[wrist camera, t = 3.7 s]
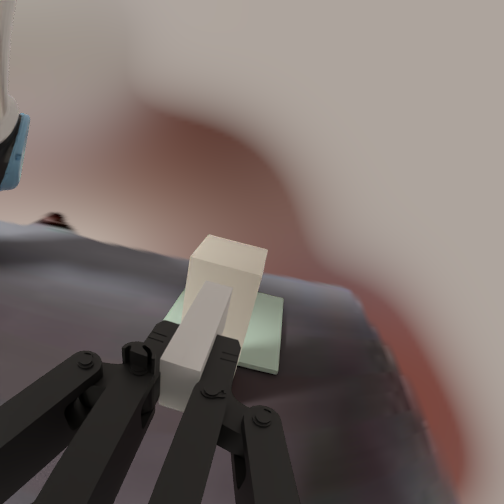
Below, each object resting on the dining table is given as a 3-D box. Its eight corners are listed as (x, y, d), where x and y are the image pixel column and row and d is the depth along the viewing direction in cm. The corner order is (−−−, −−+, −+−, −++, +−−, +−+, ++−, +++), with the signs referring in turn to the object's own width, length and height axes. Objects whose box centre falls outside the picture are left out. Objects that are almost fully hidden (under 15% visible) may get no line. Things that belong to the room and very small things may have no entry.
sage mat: (152, 339, 31) (153, 335, 31) (193, 278, 46) (194, 274, 46) (276, 374, 31) (278, 370, 30) (282, 301, 46) (283, 298, 45)
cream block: (173, 390, 25) (190, 256, 20) (188, 358, 30) (208, 234, 25) (225, 406, 25) (262, 275, 20) (234, 371, 30) (267, 249, 25)
